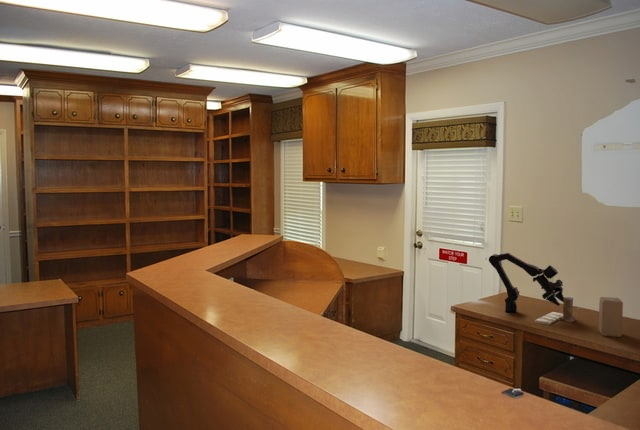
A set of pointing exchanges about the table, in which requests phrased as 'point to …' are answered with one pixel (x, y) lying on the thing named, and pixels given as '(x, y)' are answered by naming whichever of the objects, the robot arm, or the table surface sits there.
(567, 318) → the square column stand
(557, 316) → the ash board
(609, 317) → the wooden block
